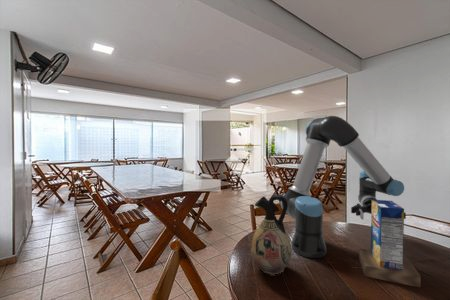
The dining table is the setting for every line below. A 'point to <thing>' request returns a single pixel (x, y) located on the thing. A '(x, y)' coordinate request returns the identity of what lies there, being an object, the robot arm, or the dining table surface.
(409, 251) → the dining table surface
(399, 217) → the beverage box
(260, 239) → the ceramic jug
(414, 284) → the walnut pedestal block
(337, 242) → the dining table surface
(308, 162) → the robot arm
